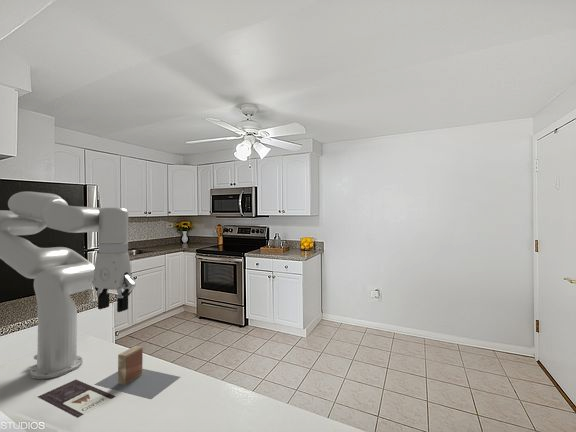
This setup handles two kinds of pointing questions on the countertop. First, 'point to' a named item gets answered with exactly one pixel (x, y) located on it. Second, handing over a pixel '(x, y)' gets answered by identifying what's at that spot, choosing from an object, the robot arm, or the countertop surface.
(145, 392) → the mat
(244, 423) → the countertop surface
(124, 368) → the wooden block
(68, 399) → the chocolate bar
